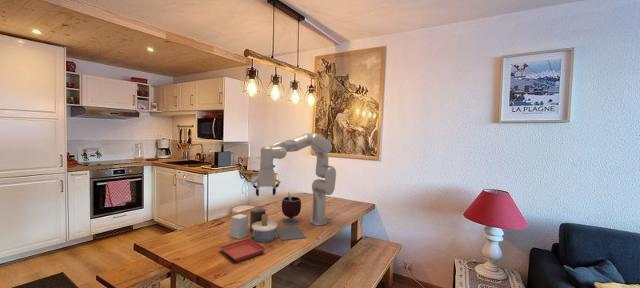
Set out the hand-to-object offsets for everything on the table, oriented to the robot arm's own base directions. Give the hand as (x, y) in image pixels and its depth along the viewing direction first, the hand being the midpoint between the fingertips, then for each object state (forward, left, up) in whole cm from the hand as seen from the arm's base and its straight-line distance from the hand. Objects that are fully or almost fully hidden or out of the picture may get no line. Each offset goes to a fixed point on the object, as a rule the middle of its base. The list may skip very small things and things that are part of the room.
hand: (265, 195), depth 161 cm
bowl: (0, -1, -27) cm, 27 cm away
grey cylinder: (+2, -15, -27) cm, 30 cm away
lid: (0, -1, -21) cm, 21 cm away
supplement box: (+14, -8, -27) cm, 31 cm away
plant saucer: (+14, +15, -27) cm, 34 cm away
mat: (-17, -4, -27) cm, 32 cm away
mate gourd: (-23, -25, -27) cm, 43 cm away
